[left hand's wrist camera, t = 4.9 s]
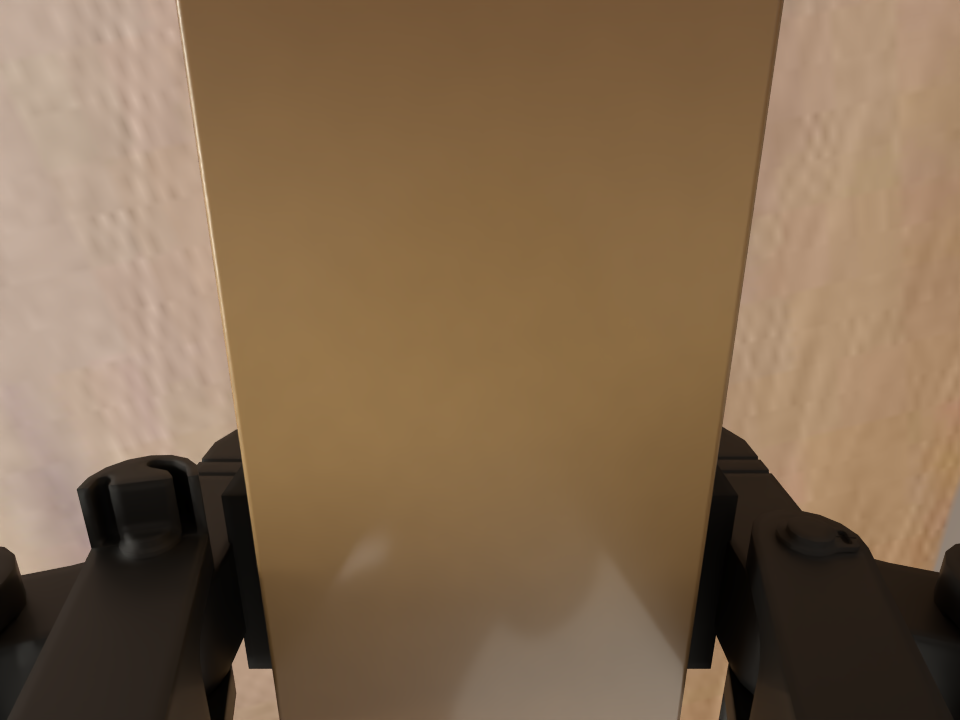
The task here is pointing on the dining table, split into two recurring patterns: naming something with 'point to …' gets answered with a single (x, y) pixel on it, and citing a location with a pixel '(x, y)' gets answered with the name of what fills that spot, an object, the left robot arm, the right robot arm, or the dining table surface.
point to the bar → (479, 335)
